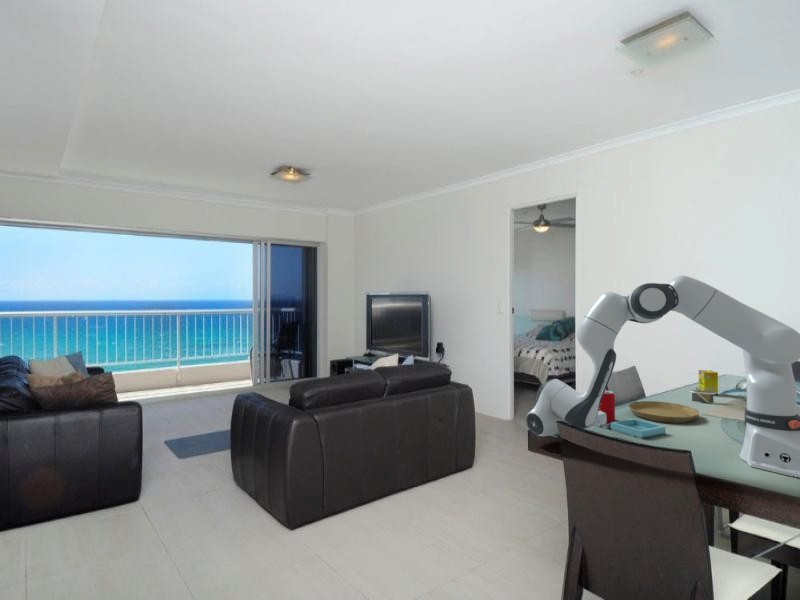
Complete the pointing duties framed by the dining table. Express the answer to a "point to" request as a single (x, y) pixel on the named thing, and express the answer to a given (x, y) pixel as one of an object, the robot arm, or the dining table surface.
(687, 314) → the robot arm
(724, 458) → the dining table surface
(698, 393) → the platform
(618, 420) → the socket
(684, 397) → the dining table surface
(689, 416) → the plant saucer
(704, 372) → the supplement box
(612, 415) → the beverage can
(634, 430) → the tray
